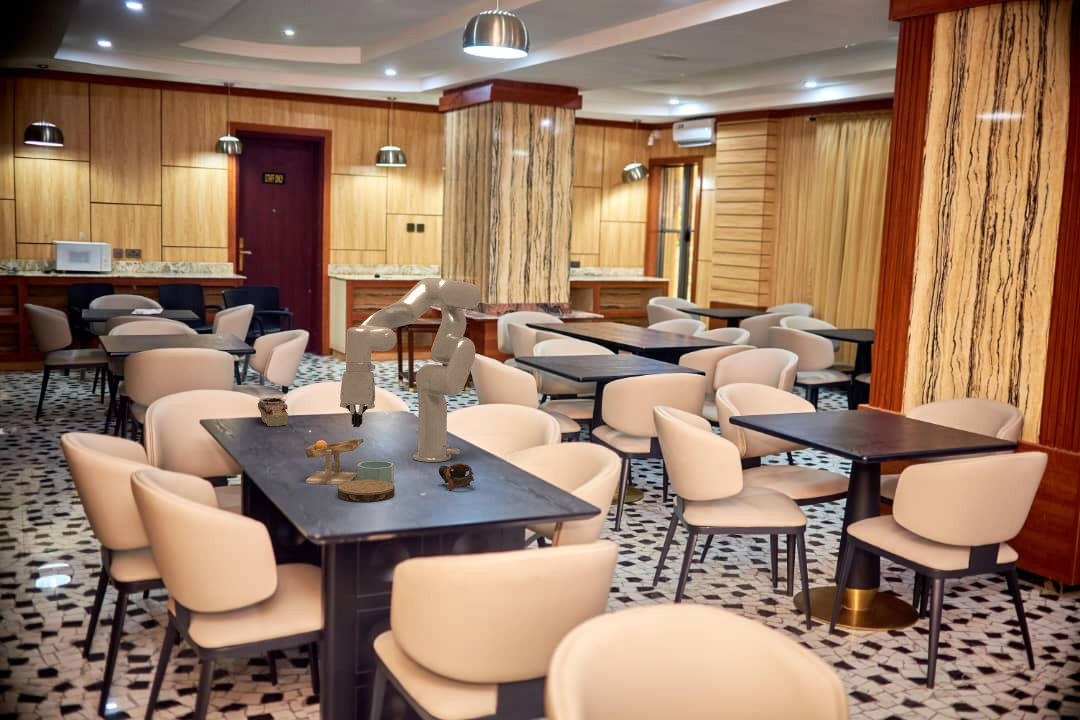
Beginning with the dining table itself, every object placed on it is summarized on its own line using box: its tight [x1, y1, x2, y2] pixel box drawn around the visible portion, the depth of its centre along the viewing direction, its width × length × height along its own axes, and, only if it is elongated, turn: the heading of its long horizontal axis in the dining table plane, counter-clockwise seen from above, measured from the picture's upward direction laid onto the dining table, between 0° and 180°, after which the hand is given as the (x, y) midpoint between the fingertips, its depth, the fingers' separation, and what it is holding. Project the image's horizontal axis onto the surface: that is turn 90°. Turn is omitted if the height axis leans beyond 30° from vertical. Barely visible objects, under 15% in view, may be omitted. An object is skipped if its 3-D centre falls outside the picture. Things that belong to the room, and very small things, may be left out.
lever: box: [305, 438, 364, 460], centre depth 304 cm, size 14×16×3 cm
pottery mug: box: [437, 462, 475, 491], centre depth 296 cm, size 12×10×8 cm
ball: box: [314, 439, 328, 450], centre depth 301 cm, size 4×4×4 cm
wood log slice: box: [337, 479, 396, 504], centre depth 283 cm, size 16×16×3 cm
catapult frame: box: [305, 450, 357, 485], centre depth 301 cm, size 13×12×10 cm
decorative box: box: [257, 397, 289, 427], centre depth 394 cm, size 13×20×10 cm, turn 20°
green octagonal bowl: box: [356, 460, 395, 484], centre depth 301 cm, size 10×10×5 cm
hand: (356, 426), depth 310 cm, fingers closed
